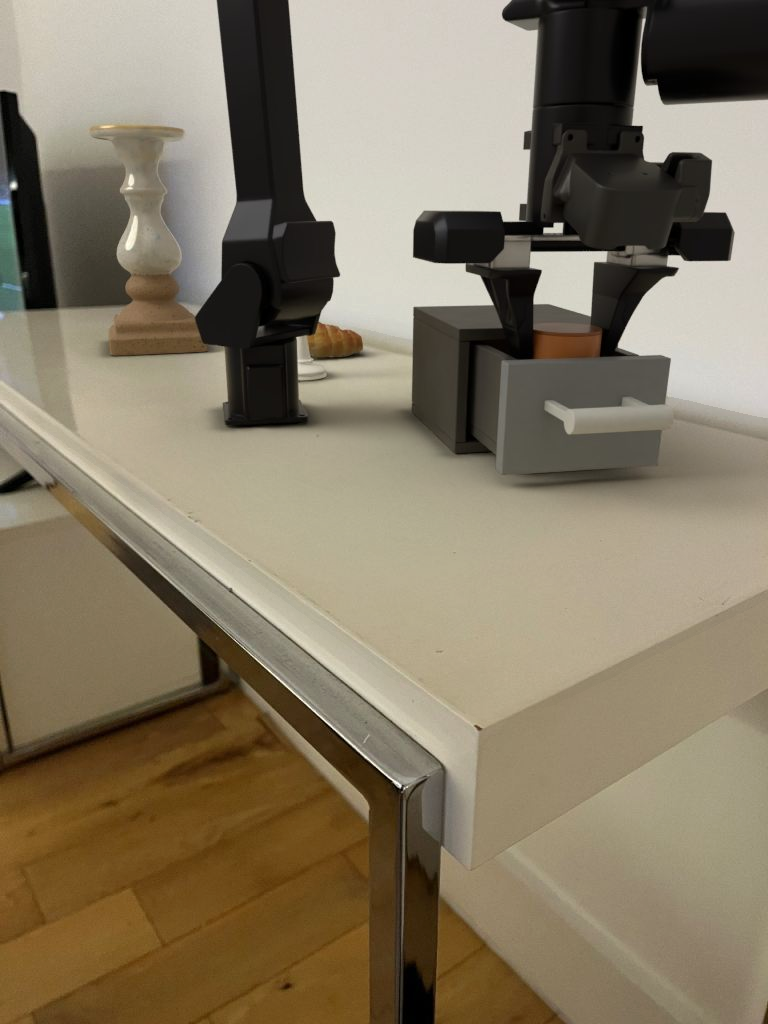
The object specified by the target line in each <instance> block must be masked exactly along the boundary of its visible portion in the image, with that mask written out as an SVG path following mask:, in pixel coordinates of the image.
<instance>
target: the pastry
mask: <svg viewBox="0 0 768 1024" xmlns="http://www.w3.org/2000/svg"><path fill="white" fill-rule="evenodd" d="M307 339H308V346H309V352H310V356H313V357H314V358H325V357H330V358H331V359H333V358H336V357H337V358H338V359H339V358H341V357H345V358H346V357H348V356H352V355H353V354H361V352H362V351H364V343H363V337H362V335H360V334H359V333H357V332H355V331H354V330H352V329H341V328H340V327H339V325H334V324H328V323H322V322H321V321H319V322H318V325H317V329H316V333H315V334H314V335H311V336H307Z"/></svg>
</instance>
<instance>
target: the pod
mask: <svg viewBox="0 0 768 1024" xmlns="http://www.w3.org/2000/svg"><path fill="white" fill-rule="evenodd" d="M601 339H602V328H600V327H597V326H593V325H586V324H576V323H539V324H533V359H558V358H587V357H600V349H601Z"/></svg>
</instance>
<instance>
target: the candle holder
mask: <svg viewBox="0 0 768 1024" xmlns="http://www.w3.org/2000/svg"><path fill="white" fill-rule="evenodd" d="M89 134H90V136H91V138H92V139H93V138H94V139H97V140H103V141H110V142H111V143H112V145H113V147H114V151H115V153H116V155H117V156H118V157H119V158H120V160H121V161H122V164H123V165H124V169H125V176H124V180H123V183H122V184H121V186H120V188H119V193H120V194H121V195H123V197H124V201H125V202H126V203H127V206H128V208H129V210H130V211H129V212H130V213H129V214H130V215H129V219H128V221H127V222H128V223H127V225H126V227H125V229H124V231H123V233H122V235H121V237H120V239H119V241H118V244H117V247H116V259H117V261H118V264H119V265H120V266H121V267H122V269H123V270H125V271H126V272H128V273H130V277H129V279H127V281H126V283H125V293H126V294H127V295H128V296H129V297H130V298H131V299H132V301H131V302H130V303H128V304H127V305H126V306H125V307H124V308H123V309H121V311H120V312H119V313H118V314H115V315H114V316H113V324H112V325H110V326H109V328H108V344H109V345H108V346H109V354H110V356H140V355H141V356H143V355H162V354H163V355H164V354H183V353H186V354H187V353H200V352H201V353H202V352H203V353H204V352H208V349H209V348H208V344H204V343H203V342H202V340H201V336H200V333H199V330H198V327H197V324H196V321H195V316H196V315H195V314H194V313H193V312H190V311H189V309H188V308H186V307H185V306H184V305H183V304H181V303H179V302H178V301H176V300H175V297H176V296H177V295H178V294H179V292H180V284H179V283H178V281H177V280H176V279H175V278H174V277H173V275H172V273H173V272H174V271H176V270H177V269H178V267H179V266H180V264H181V263H182V258H183V256H182V255H183V253H182V249H181V246H180V245H179V243H178V241H177V240H176V238H175V236H174V235H173V233H172V232H171V230H170V229H169V227H168V225H167V224H166V223H165V221H164V217H163V216H162V212H161V208H162V204H163V202H164V197H165V195H167V194H168V189H167V187H165V185H164V184H163V182H162V180H161V178H160V175H159V163H160V160H161V159H162V157H163V156H164V154H165V150H166V149H165V148H166V145H167V143H170V142H171V143H172V142H180V141H183V140H185V138H186V130H185V129H183V128H180V127H175V126H166V125H153V124H152V125H150V124H149V125H148V124H101V125H93V126H90V127H89Z"/></svg>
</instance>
